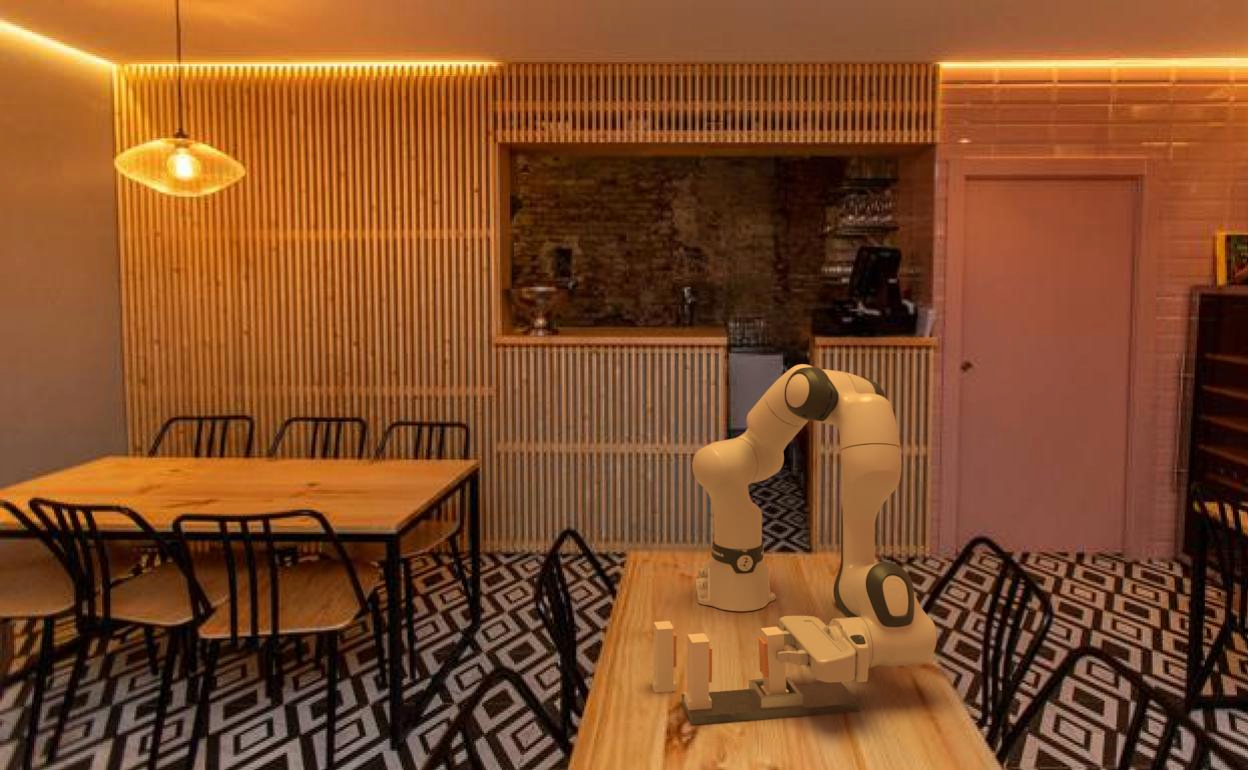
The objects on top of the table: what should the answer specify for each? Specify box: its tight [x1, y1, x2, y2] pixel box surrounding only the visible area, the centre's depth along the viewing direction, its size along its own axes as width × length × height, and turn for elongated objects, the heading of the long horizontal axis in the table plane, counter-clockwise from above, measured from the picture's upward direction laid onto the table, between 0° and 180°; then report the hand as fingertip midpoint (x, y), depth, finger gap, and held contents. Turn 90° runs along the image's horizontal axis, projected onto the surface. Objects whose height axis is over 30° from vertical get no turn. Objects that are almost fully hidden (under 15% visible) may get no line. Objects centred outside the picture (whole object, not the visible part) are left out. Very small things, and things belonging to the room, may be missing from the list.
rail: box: [680, 676, 861, 726], centre depth 147 cm, size 8×30×4 cm, turn 99°
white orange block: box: [650, 620, 678, 694], centre depth 153 cm, size 4×4×12 cm
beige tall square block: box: [758, 626, 789, 696], centre depth 146 cm, size 4×4×12 cm
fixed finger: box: [683, 632, 713, 710], centre depth 144 cm, size 4×4×12 cm
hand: (771, 648), depth 146 cm, fingers open, 5 cm apart
